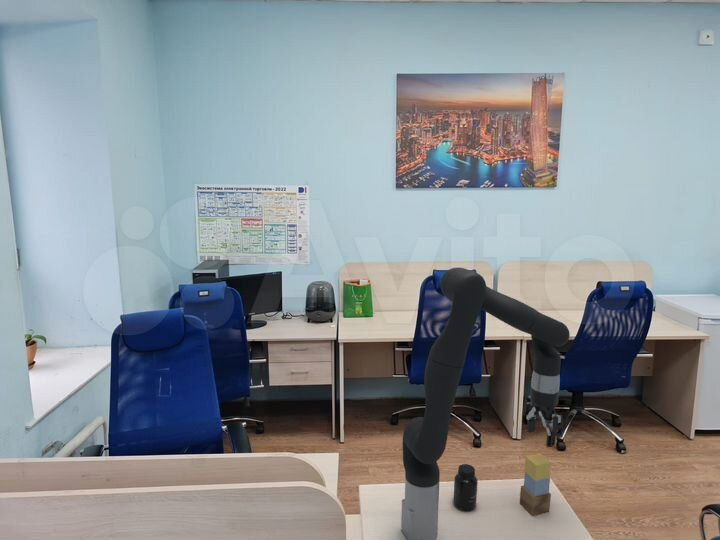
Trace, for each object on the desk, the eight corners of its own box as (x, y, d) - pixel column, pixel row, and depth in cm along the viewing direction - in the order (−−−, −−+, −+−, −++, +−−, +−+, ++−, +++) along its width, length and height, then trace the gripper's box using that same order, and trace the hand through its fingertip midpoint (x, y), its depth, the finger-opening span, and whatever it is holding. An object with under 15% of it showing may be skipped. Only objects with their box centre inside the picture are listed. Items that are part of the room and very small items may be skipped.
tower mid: (534, 496, 145) (535, 481, 144) (523, 486, 150) (524, 471, 149) (548, 493, 147) (550, 478, 146) (537, 483, 152) (539, 468, 151)
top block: (535, 481, 144) (536, 465, 144) (524, 471, 149) (525, 456, 148) (549, 477, 146) (550, 462, 145) (538, 468, 151) (539, 453, 150)
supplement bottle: (476, 513, 147) (478, 476, 145) (452, 510, 148) (454, 473, 146) (476, 498, 154) (477, 463, 151) (453, 495, 155) (455, 460, 153)
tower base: (532, 516, 146) (533, 498, 145) (519, 503, 151) (520, 485, 150) (549, 512, 148) (550, 494, 147) (536, 499, 153) (537, 482, 152)
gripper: (518, 378, 148) (514, 429, 151) (551, 399, 134) (545, 454, 137) (539, 375, 150) (535, 425, 153) (573, 395, 137) (568, 449, 140)
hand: (540, 438), depth 145 cm, fingers open, 8 cm apart
